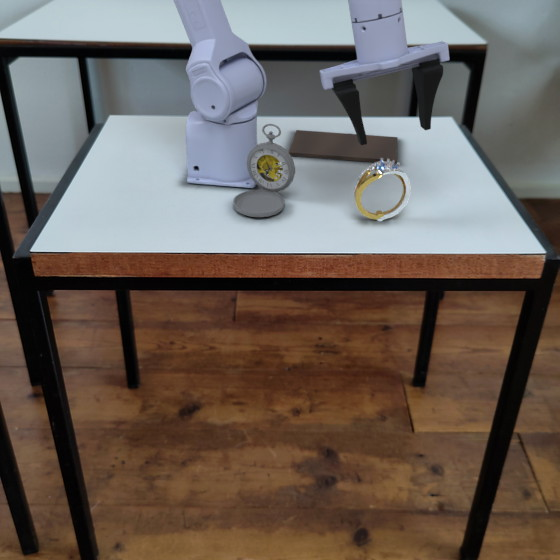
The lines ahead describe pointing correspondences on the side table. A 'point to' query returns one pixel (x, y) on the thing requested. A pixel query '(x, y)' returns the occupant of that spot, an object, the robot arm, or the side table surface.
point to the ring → (382, 169)
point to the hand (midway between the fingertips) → (394, 135)
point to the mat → (343, 146)
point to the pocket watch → (266, 178)
